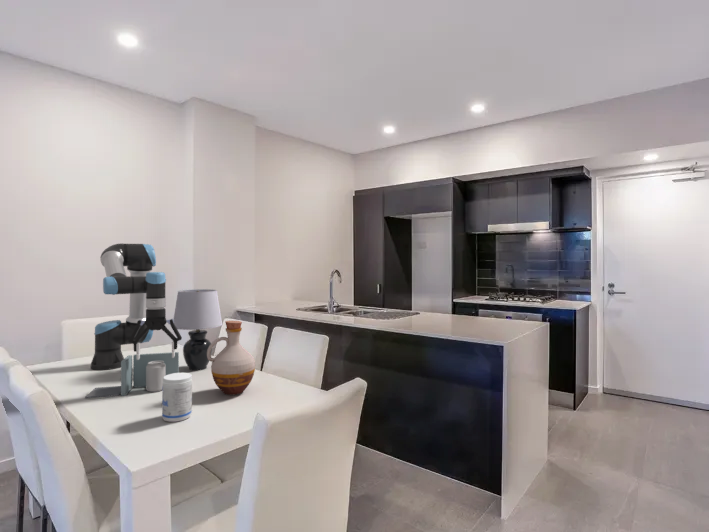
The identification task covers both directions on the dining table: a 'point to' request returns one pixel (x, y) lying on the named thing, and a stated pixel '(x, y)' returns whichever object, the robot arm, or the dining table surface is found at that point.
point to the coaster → (104, 392)
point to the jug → (232, 362)
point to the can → (155, 375)
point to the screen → (144, 369)
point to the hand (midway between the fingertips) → (155, 358)
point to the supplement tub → (177, 397)
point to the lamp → (197, 323)
